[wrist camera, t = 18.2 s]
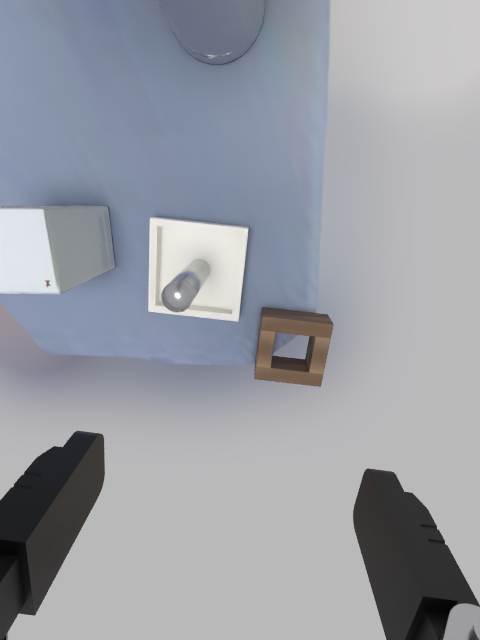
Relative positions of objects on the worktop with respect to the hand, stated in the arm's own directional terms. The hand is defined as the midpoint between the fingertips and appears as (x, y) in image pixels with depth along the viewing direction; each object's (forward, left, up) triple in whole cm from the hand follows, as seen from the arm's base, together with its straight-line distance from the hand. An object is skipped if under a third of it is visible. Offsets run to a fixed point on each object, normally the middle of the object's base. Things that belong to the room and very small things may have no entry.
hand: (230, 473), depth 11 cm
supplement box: (-1, -20, -33) cm, 38 cm away
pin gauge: (+1, -6, -32) cm, 32 cm away
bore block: (+9, +6, -32) cm, 34 cm away
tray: (+1, -6, -32) cm, 33 cm away
